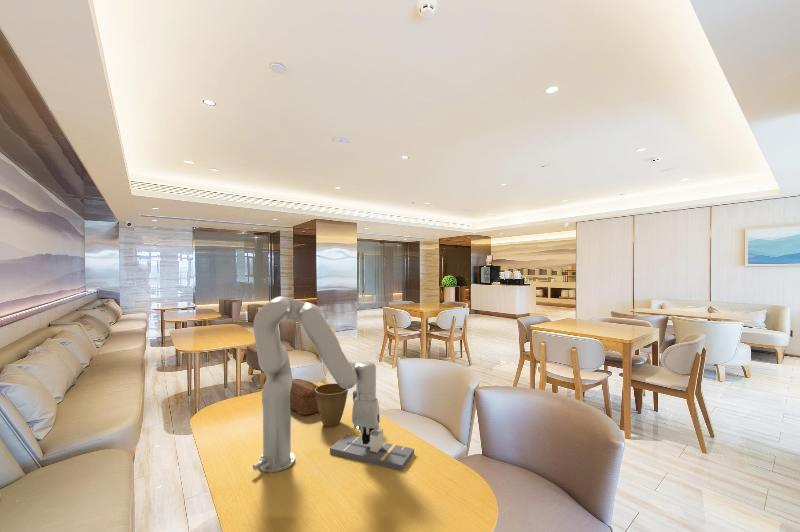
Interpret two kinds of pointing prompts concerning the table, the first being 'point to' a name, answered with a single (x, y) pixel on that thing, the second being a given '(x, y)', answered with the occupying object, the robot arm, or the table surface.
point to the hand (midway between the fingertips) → (366, 442)
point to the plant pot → (331, 403)
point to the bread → (303, 397)
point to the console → (384, 457)
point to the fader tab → (376, 440)
